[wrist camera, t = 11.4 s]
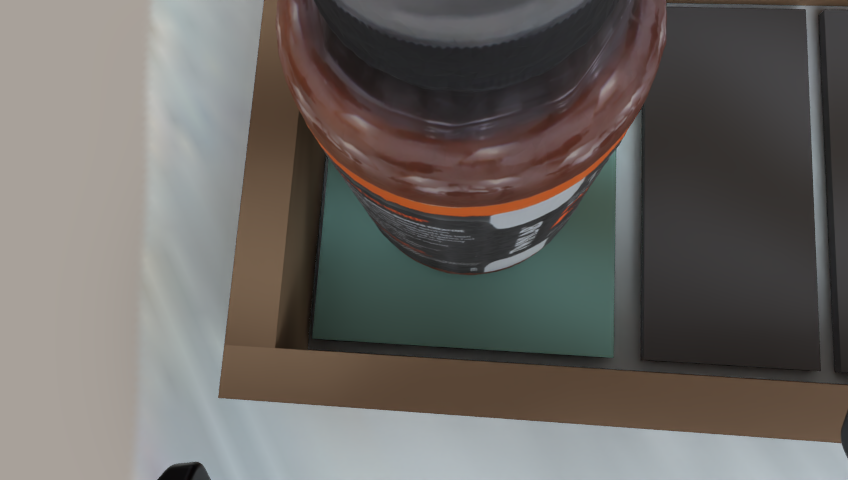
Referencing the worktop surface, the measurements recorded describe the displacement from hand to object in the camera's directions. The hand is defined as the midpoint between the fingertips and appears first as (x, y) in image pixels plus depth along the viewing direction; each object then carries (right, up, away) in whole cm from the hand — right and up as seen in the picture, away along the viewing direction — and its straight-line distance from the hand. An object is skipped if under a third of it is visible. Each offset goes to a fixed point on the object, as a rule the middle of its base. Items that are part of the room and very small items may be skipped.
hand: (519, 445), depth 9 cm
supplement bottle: (0, +5, +9) cm, 10 cm away
